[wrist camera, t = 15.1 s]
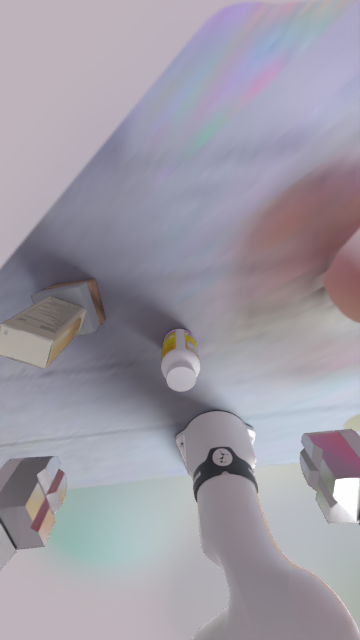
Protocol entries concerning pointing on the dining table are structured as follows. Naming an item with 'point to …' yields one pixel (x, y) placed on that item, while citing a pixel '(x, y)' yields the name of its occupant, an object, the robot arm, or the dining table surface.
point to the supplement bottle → (180, 360)
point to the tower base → (93, 293)
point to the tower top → (76, 296)
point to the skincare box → (40, 331)
